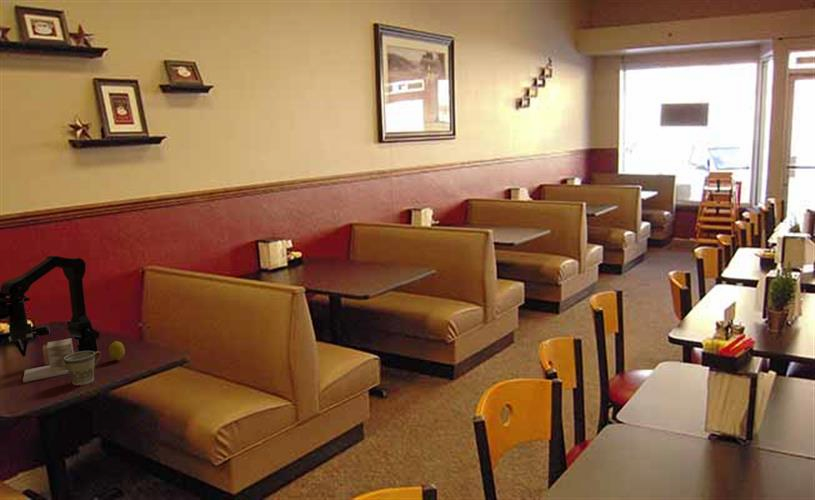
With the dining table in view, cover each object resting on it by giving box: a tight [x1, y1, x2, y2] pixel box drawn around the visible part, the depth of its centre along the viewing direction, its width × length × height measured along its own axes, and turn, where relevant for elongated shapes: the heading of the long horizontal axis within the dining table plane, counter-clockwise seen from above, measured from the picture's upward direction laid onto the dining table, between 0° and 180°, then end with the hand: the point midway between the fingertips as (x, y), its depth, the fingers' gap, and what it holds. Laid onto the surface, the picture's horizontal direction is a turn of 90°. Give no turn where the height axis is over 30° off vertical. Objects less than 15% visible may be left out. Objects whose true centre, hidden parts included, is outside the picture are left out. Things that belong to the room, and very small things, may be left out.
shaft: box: [42, 344, 74, 366], centre depth 245 cm, size 10×6×6 cm, turn 116°
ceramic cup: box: [64, 350, 102, 387], centre depth 233 cm, size 13×10×10 cm
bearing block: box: [46, 337, 75, 372], centre depth 246 cm, size 8×8×10 cm
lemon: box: [108, 340, 126, 362], centre depth 253 cm, size 6×6×8 cm
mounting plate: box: [22, 364, 69, 383], centre depth 245 cm, size 18×12×1 cm, turn 116°
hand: (24, 356), depth 240 cm, fingers closed
